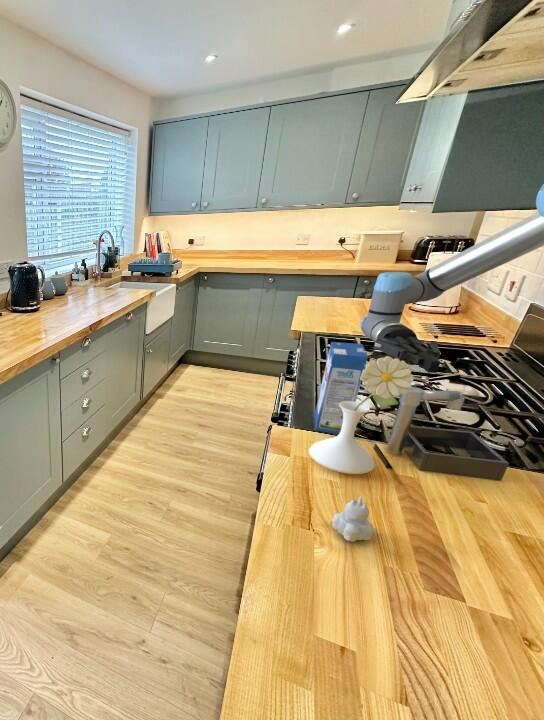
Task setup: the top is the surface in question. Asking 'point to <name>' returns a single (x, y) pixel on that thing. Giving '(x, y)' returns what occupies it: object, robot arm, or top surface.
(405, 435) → the faucet base
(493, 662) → the top surface
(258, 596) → the top surface
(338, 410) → the milk carton
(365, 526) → the grey creature figurine
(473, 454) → the dark grey open tray
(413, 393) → the spout
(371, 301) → the robot arm
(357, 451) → the flower in vase
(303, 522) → the top surface
